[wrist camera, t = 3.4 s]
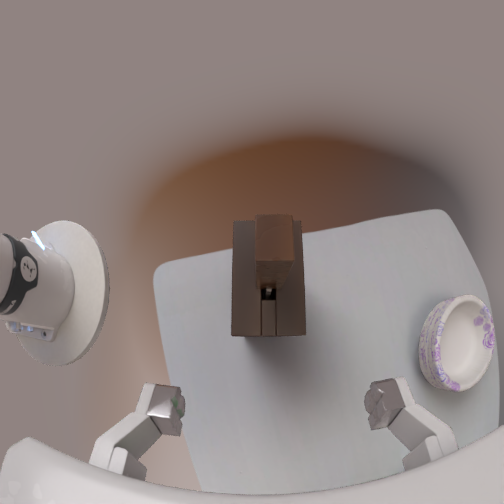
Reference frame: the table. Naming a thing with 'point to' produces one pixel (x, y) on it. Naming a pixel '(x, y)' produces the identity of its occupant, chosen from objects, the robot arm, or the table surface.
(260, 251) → the knife
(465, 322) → the paper bowls
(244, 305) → the knife block
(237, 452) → the table surface
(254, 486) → the table surface
